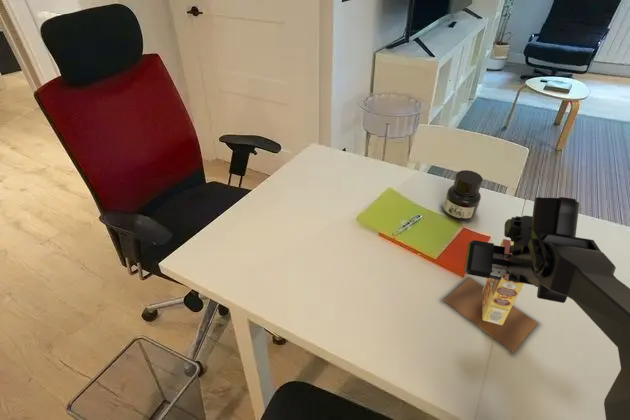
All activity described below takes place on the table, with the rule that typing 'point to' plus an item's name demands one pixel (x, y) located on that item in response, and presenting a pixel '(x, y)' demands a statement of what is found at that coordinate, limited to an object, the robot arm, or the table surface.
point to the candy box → (499, 294)
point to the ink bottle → (463, 196)
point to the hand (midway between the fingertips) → (507, 266)
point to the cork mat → (508, 334)
